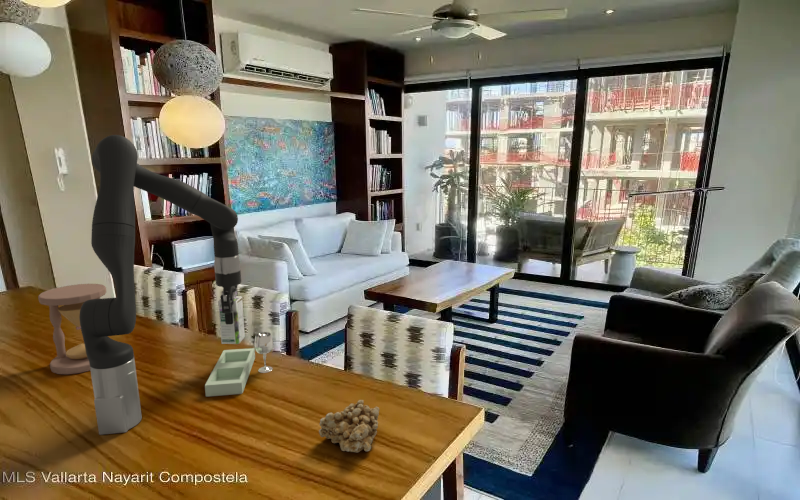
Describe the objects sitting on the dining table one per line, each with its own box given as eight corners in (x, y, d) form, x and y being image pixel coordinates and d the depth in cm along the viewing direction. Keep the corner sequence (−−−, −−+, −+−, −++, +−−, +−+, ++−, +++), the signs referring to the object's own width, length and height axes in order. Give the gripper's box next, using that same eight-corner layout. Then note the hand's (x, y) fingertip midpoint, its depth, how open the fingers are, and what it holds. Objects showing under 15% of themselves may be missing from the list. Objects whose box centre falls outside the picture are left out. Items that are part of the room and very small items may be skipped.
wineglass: (277, 366, 142) (275, 331, 140) (270, 374, 136) (268, 338, 134) (260, 365, 143) (258, 331, 140) (253, 373, 137) (250, 338, 135)
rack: (242, 393, 125) (241, 382, 124) (205, 396, 123) (204, 385, 123) (255, 357, 148) (254, 348, 147) (224, 359, 146) (223, 350, 146)
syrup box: (220, 344, 137) (217, 300, 134) (228, 337, 143) (224, 295, 140) (238, 344, 137) (235, 301, 134) (245, 337, 143) (242, 295, 140)
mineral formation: (313, 440, 104) (357, 410, 115) (353, 473, 96) (396, 437, 107) (314, 414, 101) (359, 385, 112) (354, 445, 93) (399, 411, 104)
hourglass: (127, 352, 152) (118, 284, 147) (87, 376, 135) (75, 299, 130) (81, 350, 154) (70, 282, 149) (36, 373, 137) (22, 297, 132)
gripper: (220, 264, 141) (224, 313, 145) (209, 276, 127) (214, 329, 131) (244, 263, 143) (247, 311, 146) (236, 274, 129) (239, 327, 132)
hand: (231, 319), depth 138 cm, fingers closed on syrup box, 6 cm apart
